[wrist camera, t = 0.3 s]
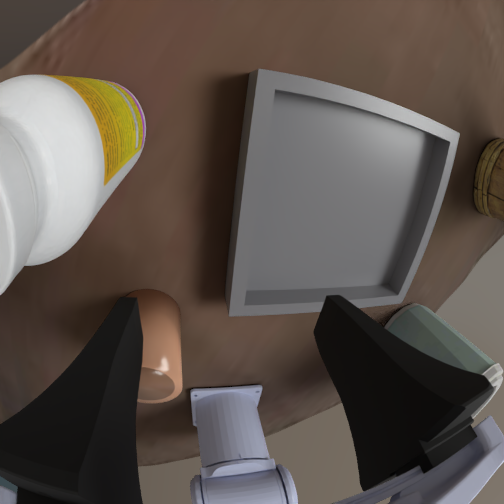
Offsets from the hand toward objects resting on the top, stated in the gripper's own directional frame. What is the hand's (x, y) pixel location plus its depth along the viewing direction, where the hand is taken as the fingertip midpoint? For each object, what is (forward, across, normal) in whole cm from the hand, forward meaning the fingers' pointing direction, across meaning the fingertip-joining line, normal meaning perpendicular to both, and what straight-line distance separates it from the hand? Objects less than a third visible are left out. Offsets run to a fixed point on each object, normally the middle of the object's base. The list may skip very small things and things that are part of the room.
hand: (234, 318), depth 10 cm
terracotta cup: (+10, +5, +9) cm, 14 cm away
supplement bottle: (+10, +8, -5) cm, 14 cm away
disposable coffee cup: (+10, -23, +12) cm, 28 cm away
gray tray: (+10, -9, -2) cm, 13 cm away
